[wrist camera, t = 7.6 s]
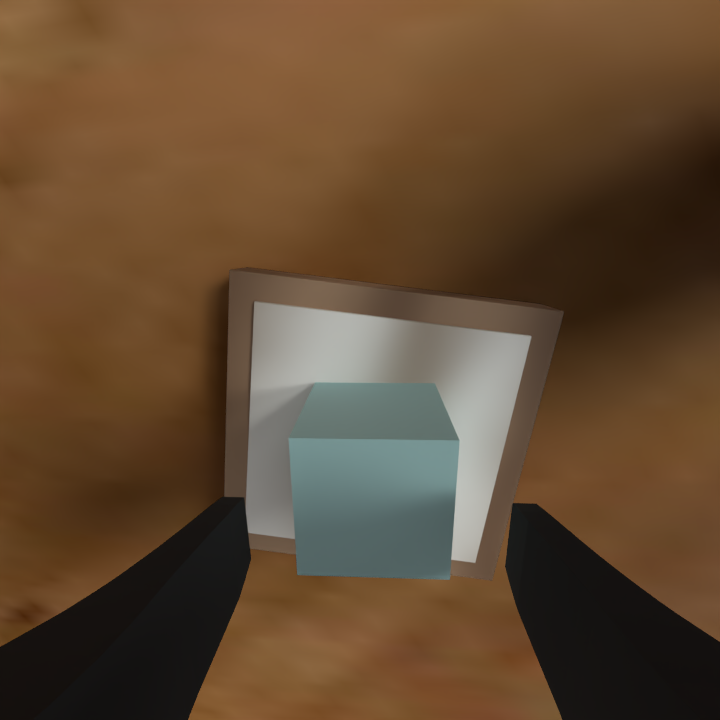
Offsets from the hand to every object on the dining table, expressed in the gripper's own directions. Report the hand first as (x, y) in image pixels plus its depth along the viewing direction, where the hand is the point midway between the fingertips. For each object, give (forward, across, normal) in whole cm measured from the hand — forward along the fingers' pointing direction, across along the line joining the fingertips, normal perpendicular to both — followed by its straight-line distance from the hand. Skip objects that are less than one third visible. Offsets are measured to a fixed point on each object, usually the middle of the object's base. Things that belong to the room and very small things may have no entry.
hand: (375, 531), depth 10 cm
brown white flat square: (+7, 0, 0) cm, 7 cm away
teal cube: (+5, 0, 0) cm, 5 cm away
